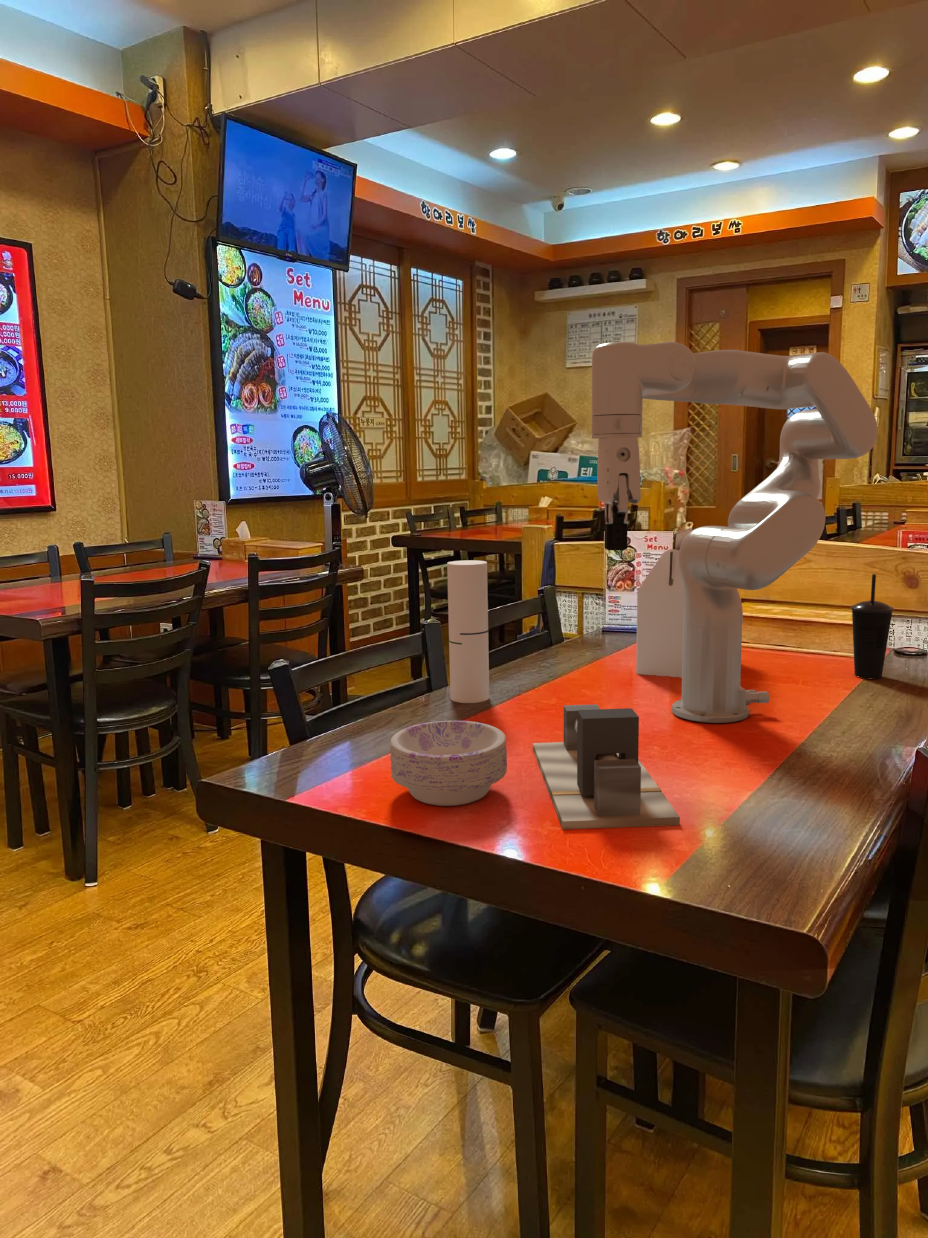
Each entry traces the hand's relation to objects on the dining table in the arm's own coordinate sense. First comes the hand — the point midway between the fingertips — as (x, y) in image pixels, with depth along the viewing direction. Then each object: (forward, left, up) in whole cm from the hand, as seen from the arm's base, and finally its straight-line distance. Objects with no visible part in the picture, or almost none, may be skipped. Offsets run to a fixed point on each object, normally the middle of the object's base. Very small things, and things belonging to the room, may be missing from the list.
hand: (615, 549), depth 140 cm
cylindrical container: (+22, -23, -29) cm, 43 cm away
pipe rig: (+7, +23, -29) cm, 38 cm away
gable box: (-23, -44, -29) cm, 58 cm away
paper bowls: (+27, +25, -29) cm, 47 cm away
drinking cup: (-56, -30, -29) cm, 70 cm away
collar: (+7, +29, -28) cm, 41 cm away
